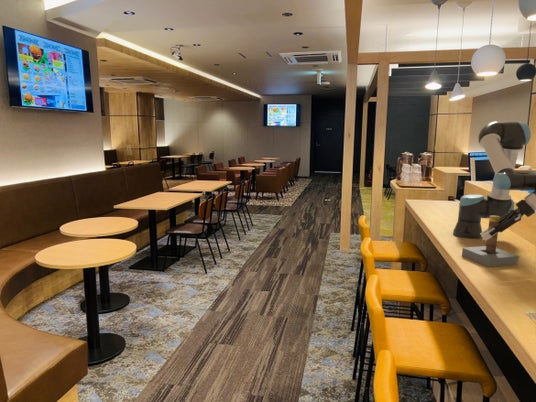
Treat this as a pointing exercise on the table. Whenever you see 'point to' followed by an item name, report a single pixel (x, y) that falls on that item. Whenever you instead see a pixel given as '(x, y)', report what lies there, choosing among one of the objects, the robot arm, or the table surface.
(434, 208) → the table surface
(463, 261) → the table surface
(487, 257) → the socket plate
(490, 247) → the yellow capped peg
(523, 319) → the table surface
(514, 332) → the table surface
